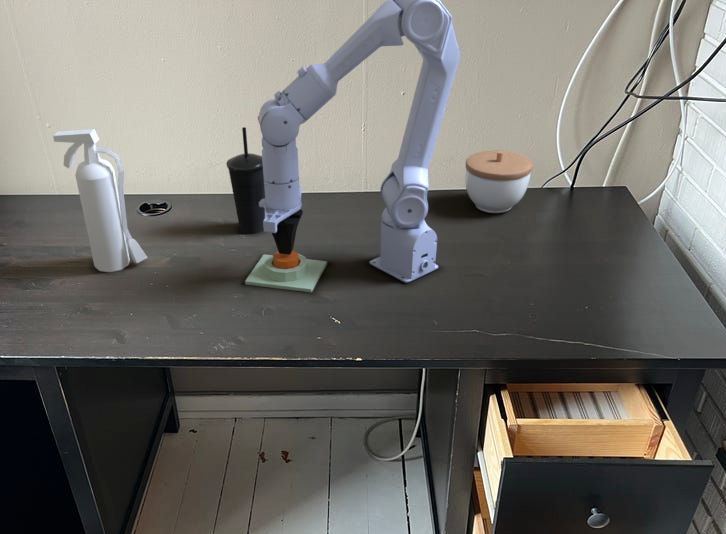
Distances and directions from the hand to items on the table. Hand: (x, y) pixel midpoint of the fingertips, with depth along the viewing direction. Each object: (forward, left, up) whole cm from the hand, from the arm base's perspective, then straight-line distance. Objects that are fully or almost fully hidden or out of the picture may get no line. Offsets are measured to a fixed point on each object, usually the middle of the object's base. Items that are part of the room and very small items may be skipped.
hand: (285, 252), depth 127 cm
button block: (0, 0, -4) cm, 4 cm away
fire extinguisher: (+24, +21, -5) cm, 32 cm away
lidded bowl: (-6, -48, -5) cm, 49 cm away
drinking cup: (+19, -6, -5) cm, 20 cm away
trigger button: (0, 0, -2) cm, 2 cm away
